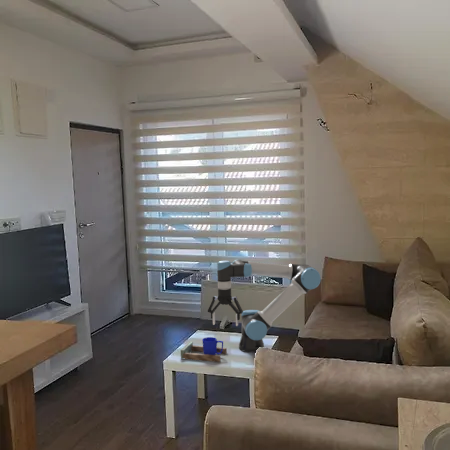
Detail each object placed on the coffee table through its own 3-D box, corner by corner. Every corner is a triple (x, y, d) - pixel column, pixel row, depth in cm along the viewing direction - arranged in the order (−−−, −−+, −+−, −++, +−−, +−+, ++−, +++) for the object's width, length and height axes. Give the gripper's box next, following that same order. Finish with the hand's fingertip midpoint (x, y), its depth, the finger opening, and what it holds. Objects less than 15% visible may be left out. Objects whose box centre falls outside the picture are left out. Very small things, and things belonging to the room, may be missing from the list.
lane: (226, 352, 278) (226, 344, 277) (219, 361, 263) (219, 353, 263) (189, 349, 284) (189, 341, 283) (180, 358, 269) (180, 350, 269)
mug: (221, 359, 267) (221, 342, 266) (201, 358, 269) (200, 341, 268) (224, 354, 275) (224, 337, 274) (204, 353, 277) (204, 336, 276)
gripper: (247, 287, 268) (248, 324, 269) (205, 286, 274) (206, 322, 276) (244, 290, 260) (245, 327, 262) (201, 288, 267) (202, 325, 269)
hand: (225, 324), depth 269 cm, fingers open, 13 cm apart
